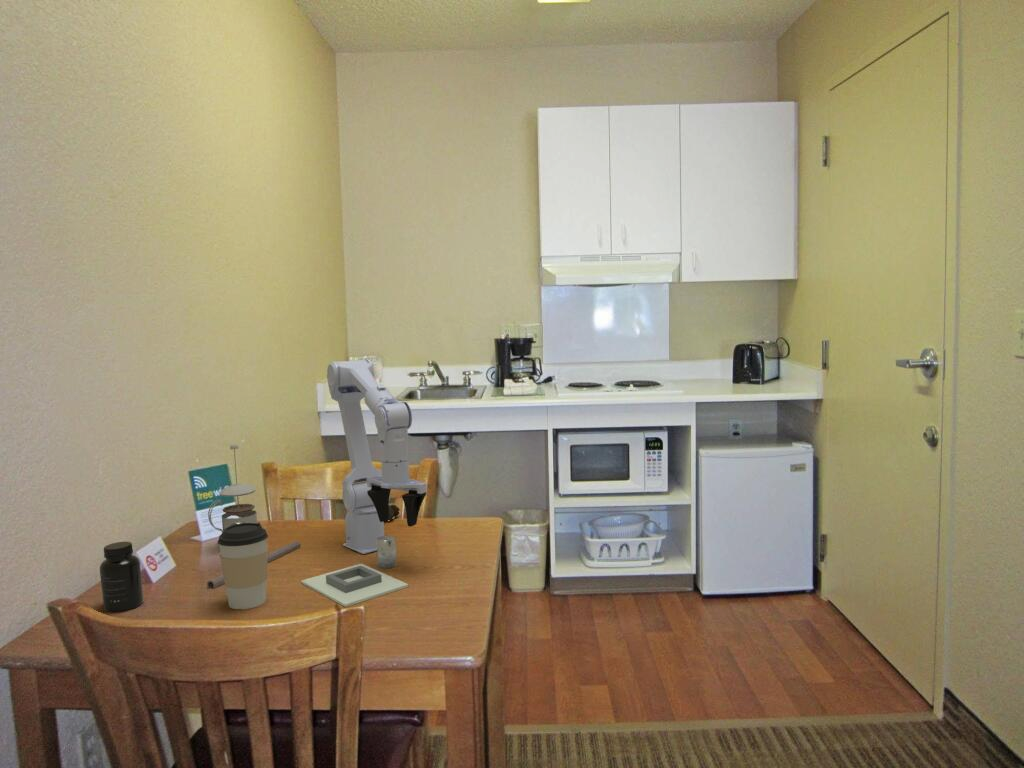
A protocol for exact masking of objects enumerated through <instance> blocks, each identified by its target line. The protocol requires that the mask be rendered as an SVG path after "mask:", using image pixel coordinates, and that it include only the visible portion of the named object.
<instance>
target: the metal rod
mask: <svg viewBox="0 0 1024 768" xmlns="http://www.w3.org/2000/svg"><path fill="white" fill-rule="evenodd" d="M300 548H301V543H300V541H298V540H295V541H292V542H290V543H288V544H286V545H284V546H281V547H279V548H277V549H275V550H272V551H270V552H269V553H268V556H267V564H268V562H269V563H271V562H272V560H273V561H275V560H276V559H279V558H281V557H283V556H285V555H287V554H289V553H291V552H293V551H295V550H298V549H300ZM274 559H275V560H274ZM270 561H271V562H270ZM222 585H225V583H224V577H223V573H222V574H220V575H219V576H215V577H214V578H211V579H209V580H208V581H207V582H206V587H207V588H208V589H216V588H217V587H218V588H219V587H220V586H222Z"/></svg>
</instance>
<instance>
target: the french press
mask: <svg viewBox="0 0 1024 768" xmlns="http://www.w3.org/2000/svg"><path fill="white" fill-rule="evenodd" d="M229 449H230V450H233V453H234V455H233V456H234V458H233V459H234V470H235V481H236V482H235V484H234V483H233V484H231V485H228V486H227V487H226V486H225V487H224V488H223V489H221V490H220V491H219V492H218V493H219V496H220V497H224V498H225V497H229V498H230V497H236V499H237V504H231V505H228V506H225V507H224V508H223V509H222V512H223V514H222V515H221V524H222V529H221V528H220V527H216V526H215V525H214V523H213V521H212V513H213V508H215V506H216V505H217V504H218V503H219V505H220V506H221V507H222V506H223V500H222V499H220V498H218V499H216V500H215V501H213V502H212V503H211V504H210V506H209V509H208V511H207V517H208V521H209V524H210V525H211V527H213V528H214V529H215V530H216V531H220V532H221V534H222V533H223V531H224V529H225V528H227V527H229V526H232V525H236V524H242V523H258V518H257V517H258V516H257V511H256V510H254V509H255V505H254V504H252V503H240V502H239V497H242V496H247V495H251V494H254V493H255V492H256V488H255V487H254V486H252V485H249V484H246V483H238V477H237V475H238V474H237V464H236V463H237V461H236V450H238V449H239V445H238V444H237V443H232V444H230V447H229ZM231 516H233V517H234V516H235V517H237V518H235V517H234V518H232V517H231ZM229 517H231V518H229Z"/></svg>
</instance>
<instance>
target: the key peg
mask: <svg viewBox="0 0 1024 768" xmlns="http://www.w3.org/2000/svg"><path fill="white" fill-rule="evenodd" d="M376 540H377V551H376V556H377V568H379V569H382V570H386V569H393V568H395V567H396V566H397V547H396V545H397V544H396V537H395V536H393V535H384V536H381V537H378V538H377V539H376Z"/></svg>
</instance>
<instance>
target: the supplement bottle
mask: <svg viewBox="0 0 1024 768" xmlns="http://www.w3.org/2000/svg"><path fill="white" fill-rule="evenodd" d="M133 553H134V549H133V543H132V542H130V541H118V542H113V543H112V542H111V543H109V544H107V545H105V546H104V547H103V557H104V560H103V561H102V562H101V564H100V566H99V576H100V584H101V585H100V586H101V594H102V595H101V596H102V605H103V608H104V610H105V611H107V612H109V613H119V612H126V611H130V610H133V609H135V608H137V607H139V606H141V604H142V603H143V602H144V590H143V580H142V573H141V571H142V570H141V563H140V558H138V556H136V555H135V554H133Z"/></svg>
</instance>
